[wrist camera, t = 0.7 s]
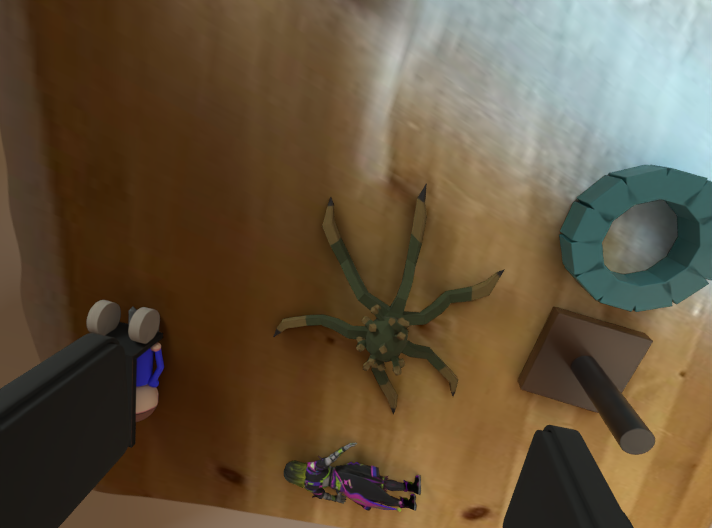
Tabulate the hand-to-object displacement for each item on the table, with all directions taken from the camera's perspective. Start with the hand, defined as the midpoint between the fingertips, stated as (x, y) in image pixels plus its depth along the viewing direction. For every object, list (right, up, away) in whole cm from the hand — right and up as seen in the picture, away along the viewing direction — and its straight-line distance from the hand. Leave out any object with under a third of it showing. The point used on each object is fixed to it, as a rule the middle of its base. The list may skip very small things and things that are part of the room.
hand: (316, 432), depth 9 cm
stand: (+23, -6, +32) cm, 40 cm away
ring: (+26, +6, +27) cm, 38 cm away
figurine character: (-24, -6, +39) cm, 46 cm away
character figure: (0, -21, +41) cm, 46 cm away
